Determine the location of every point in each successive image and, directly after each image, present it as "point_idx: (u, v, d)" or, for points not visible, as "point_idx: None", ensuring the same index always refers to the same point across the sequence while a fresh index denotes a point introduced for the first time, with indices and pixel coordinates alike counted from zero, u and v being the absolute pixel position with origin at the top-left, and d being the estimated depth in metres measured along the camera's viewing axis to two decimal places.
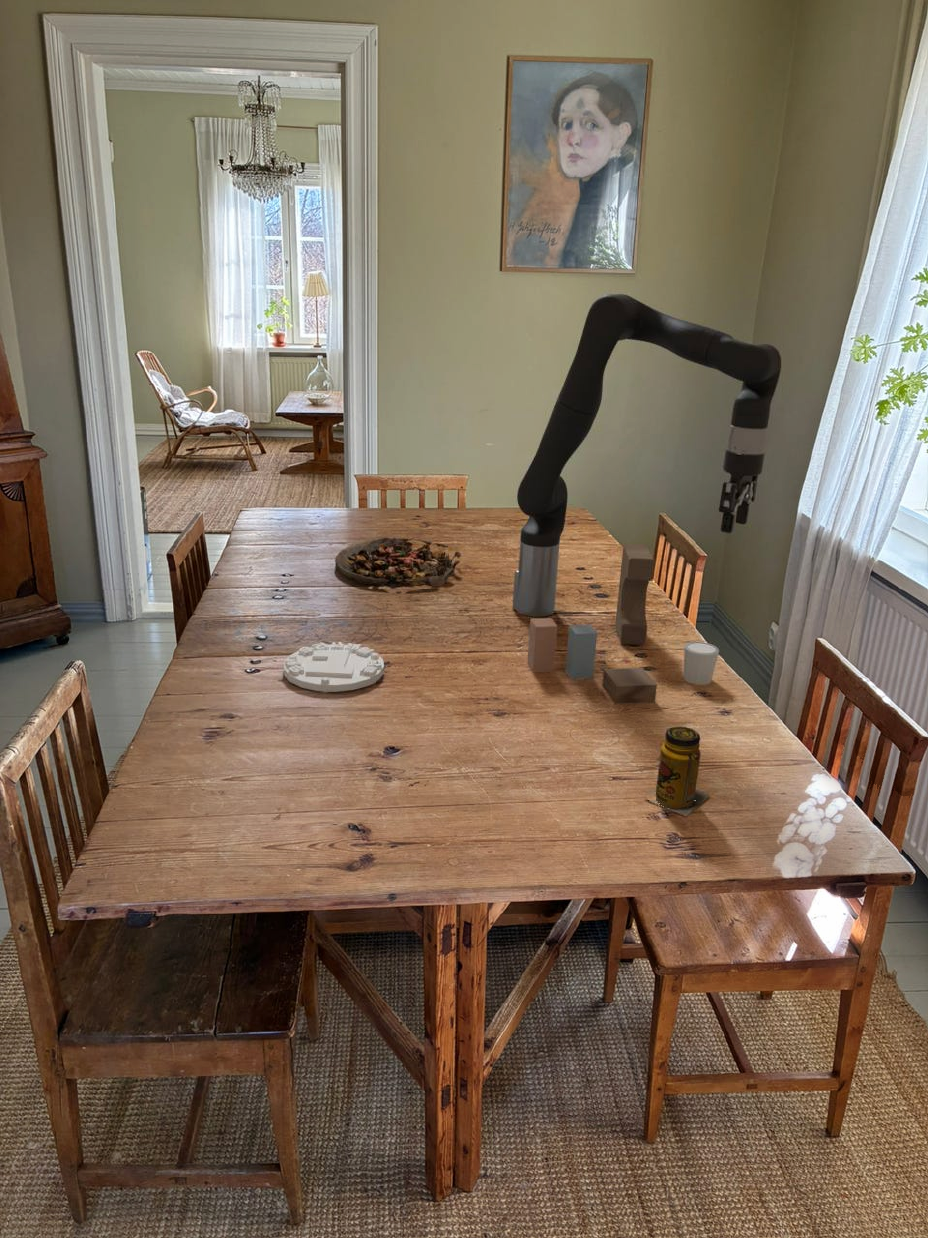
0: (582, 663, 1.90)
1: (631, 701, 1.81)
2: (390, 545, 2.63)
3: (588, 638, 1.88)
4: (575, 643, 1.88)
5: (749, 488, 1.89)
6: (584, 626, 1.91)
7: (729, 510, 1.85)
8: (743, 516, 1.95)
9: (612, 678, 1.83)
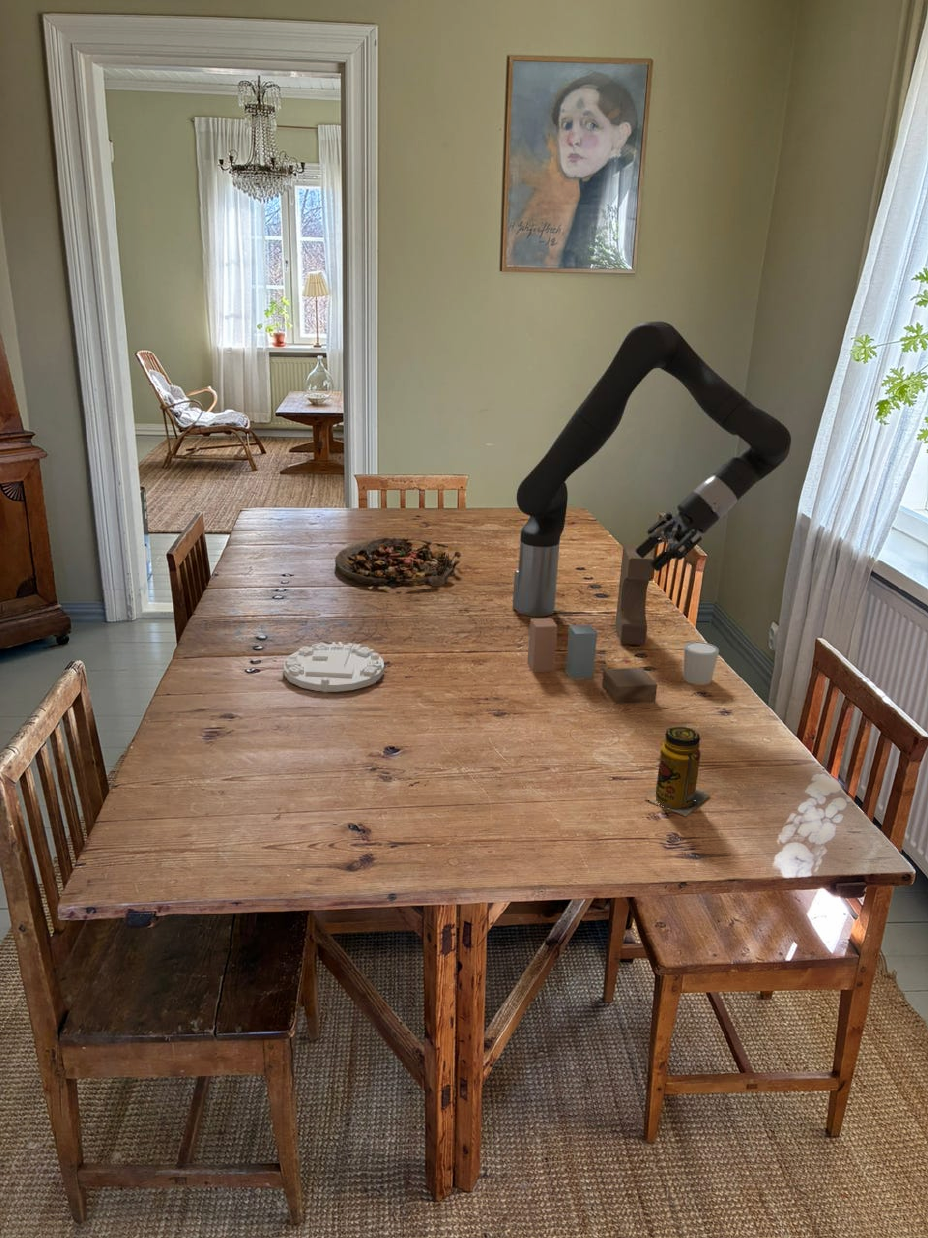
0: (582, 663, 1.90)
1: (632, 701, 1.81)
2: (390, 545, 2.63)
3: (588, 638, 1.88)
4: (576, 643, 1.88)
5: None
6: (584, 626, 1.91)
7: (682, 556, 1.79)
8: (646, 551, 1.90)
9: (613, 678, 1.83)
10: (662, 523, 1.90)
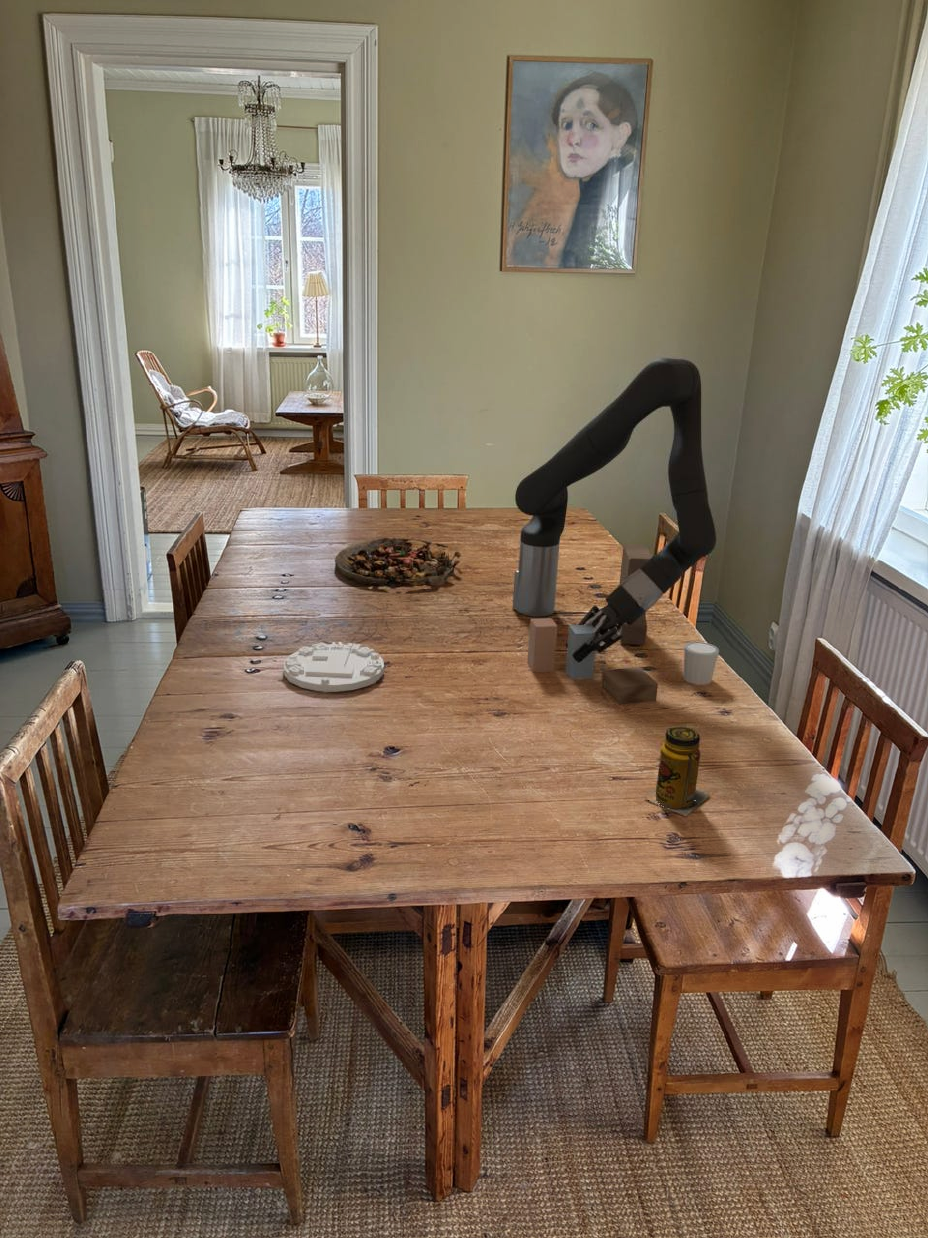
0: (582, 663, 1.90)
1: (633, 701, 1.81)
2: (390, 545, 2.63)
3: (588, 638, 1.88)
4: (575, 643, 1.88)
5: None
6: (584, 626, 1.91)
7: (600, 651, 1.86)
8: None
9: (613, 679, 1.83)
10: (591, 616, 1.94)
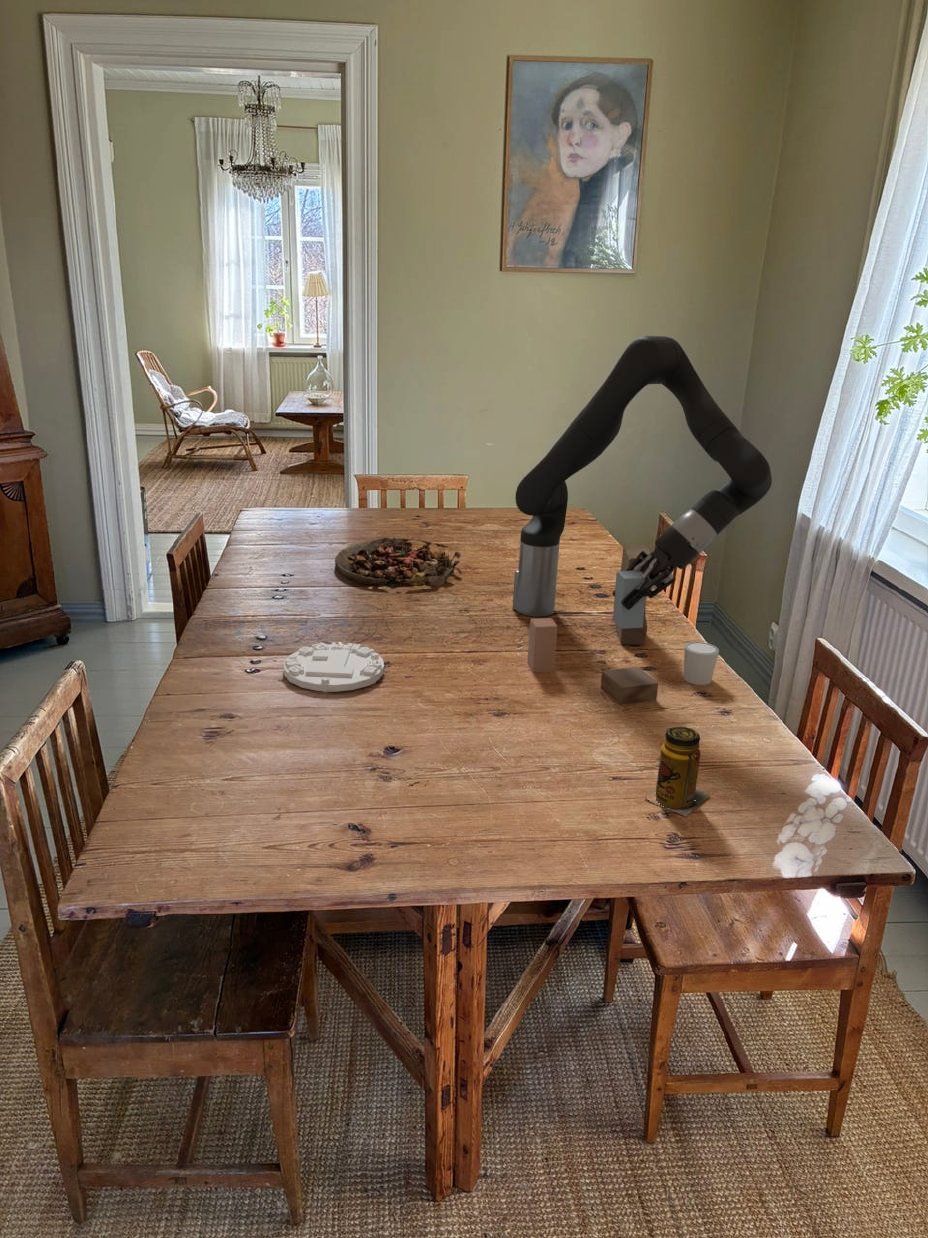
0: (631, 611, 1.78)
1: (634, 701, 1.81)
2: (390, 545, 2.63)
3: (638, 583, 1.76)
4: (624, 589, 1.76)
5: None
6: (633, 572, 1.79)
7: (652, 596, 1.74)
8: None
9: (614, 679, 1.82)
10: (638, 562, 1.83)
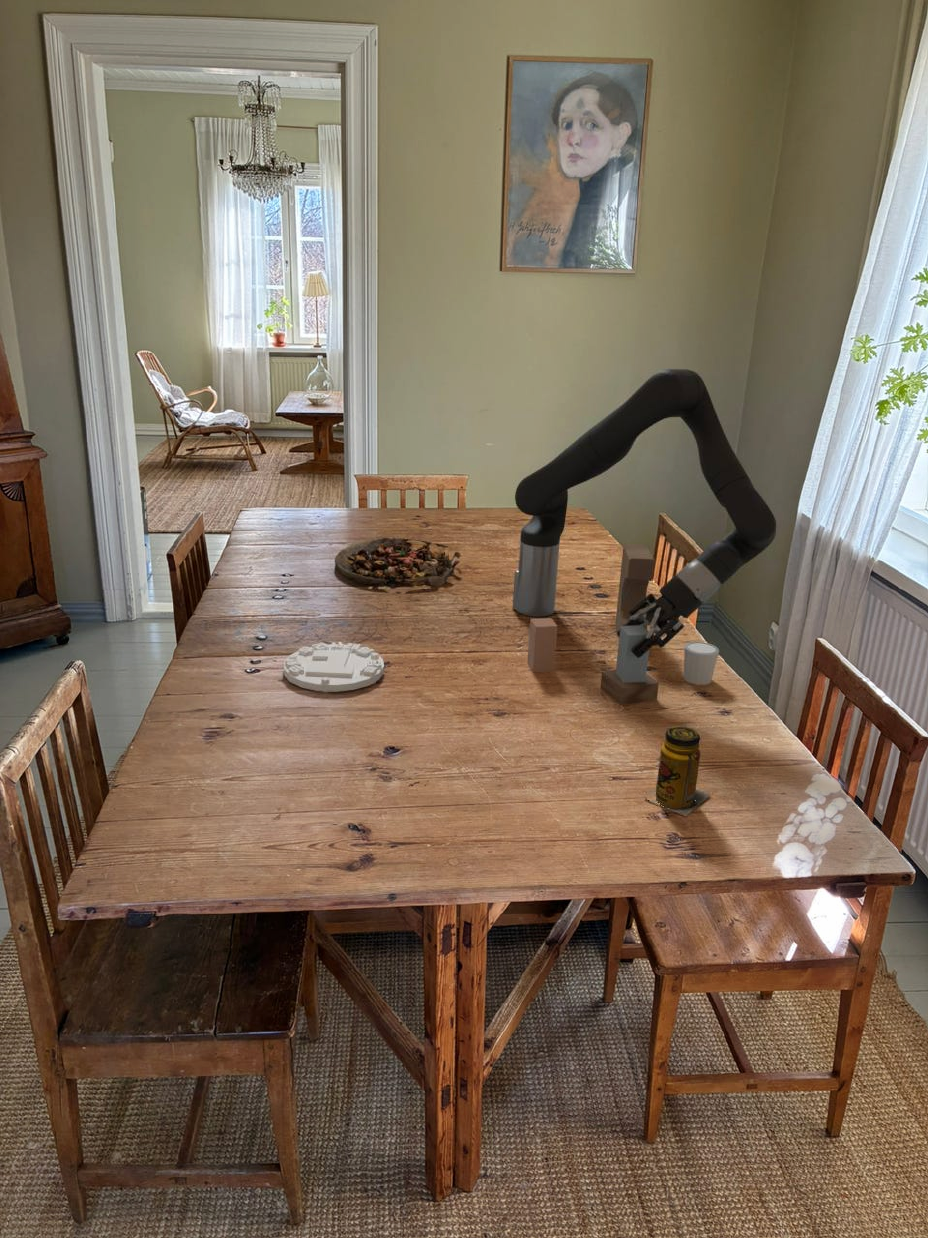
0: (634, 666, 1.80)
1: (635, 701, 1.81)
2: (390, 545, 2.63)
3: None
4: (628, 645, 1.78)
5: None
6: (637, 627, 1.81)
7: (663, 644, 1.74)
8: None
9: (614, 680, 1.82)
10: (644, 605, 1.85)
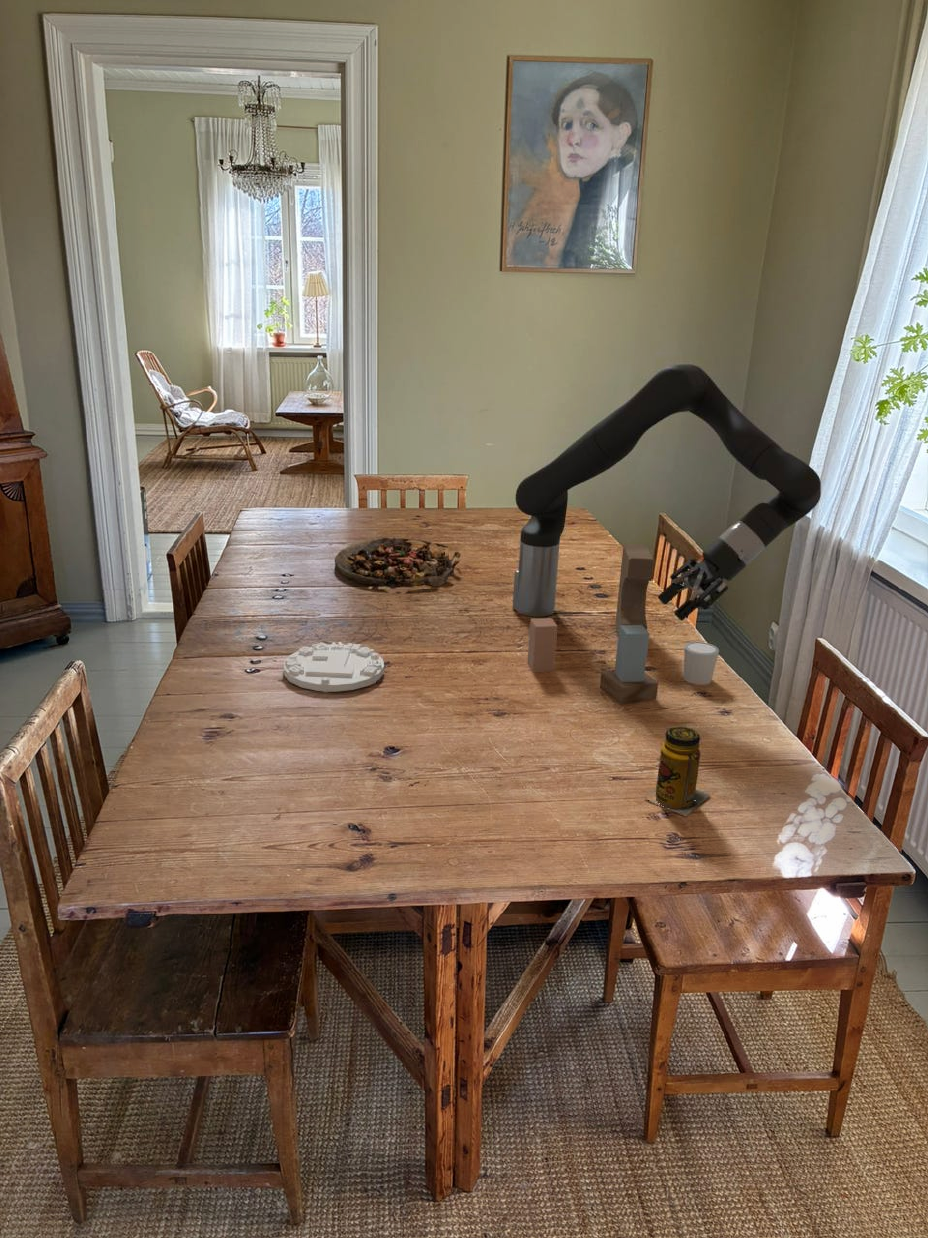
0: (632, 665, 1.80)
1: (635, 701, 1.81)
2: (390, 545, 2.63)
3: (640, 638, 1.79)
4: (626, 644, 1.79)
5: None
6: (636, 626, 1.82)
7: (707, 606, 1.73)
8: (669, 597, 1.83)
9: (614, 680, 1.82)
10: (686, 568, 1.84)
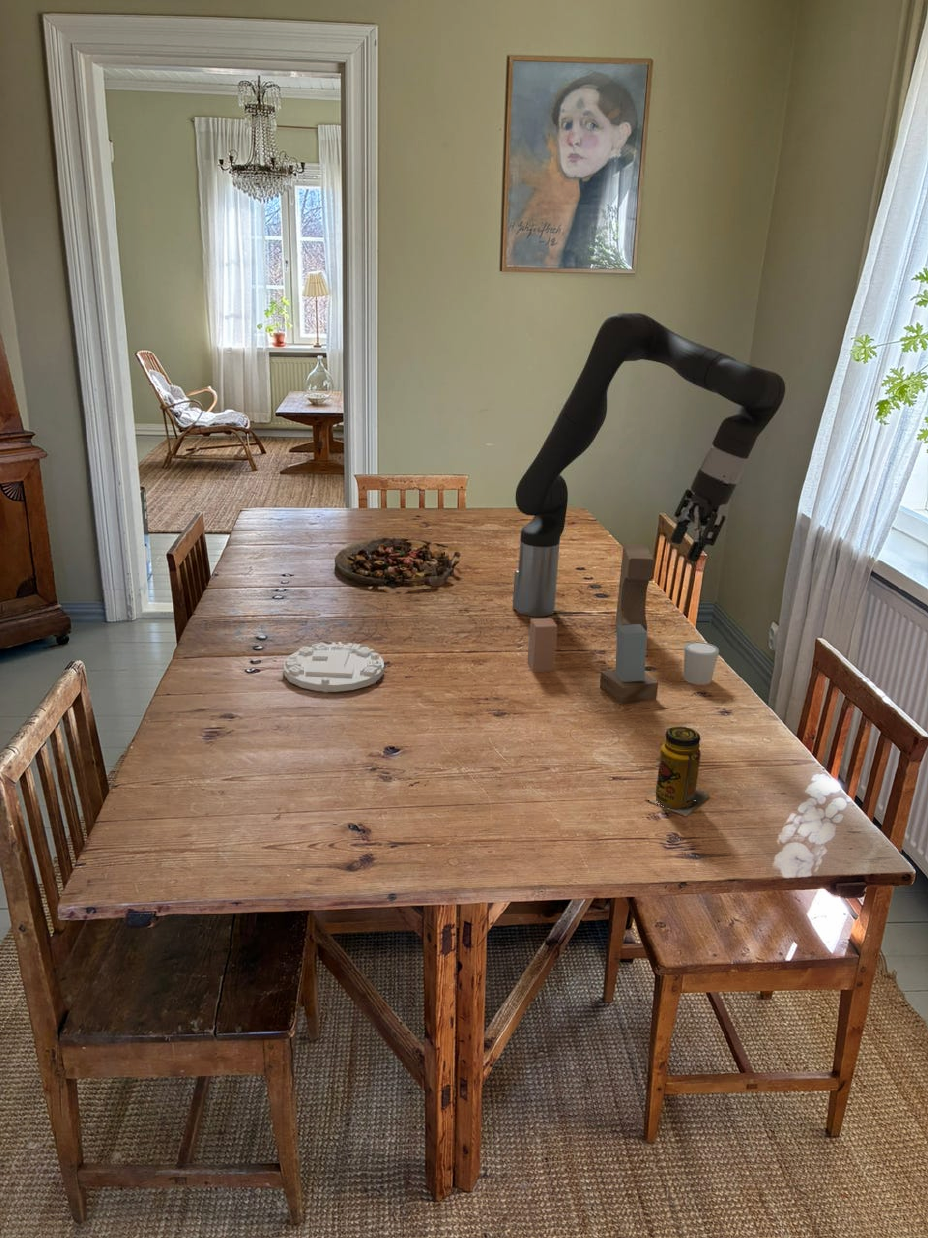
0: (632, 665, 1.80)
1: (635, 701, 1.81)
2: (390, 545, 2.63)
3: (638, 638, 1.78)
4: (624, 644, 1.79)
5: None
6: (634, 626, 1.81)
7: (713, 542, 1.74)
8: (680, 536, 1.84)
9: (614, 680, 1.82)
10: (685, 502, 1.83)
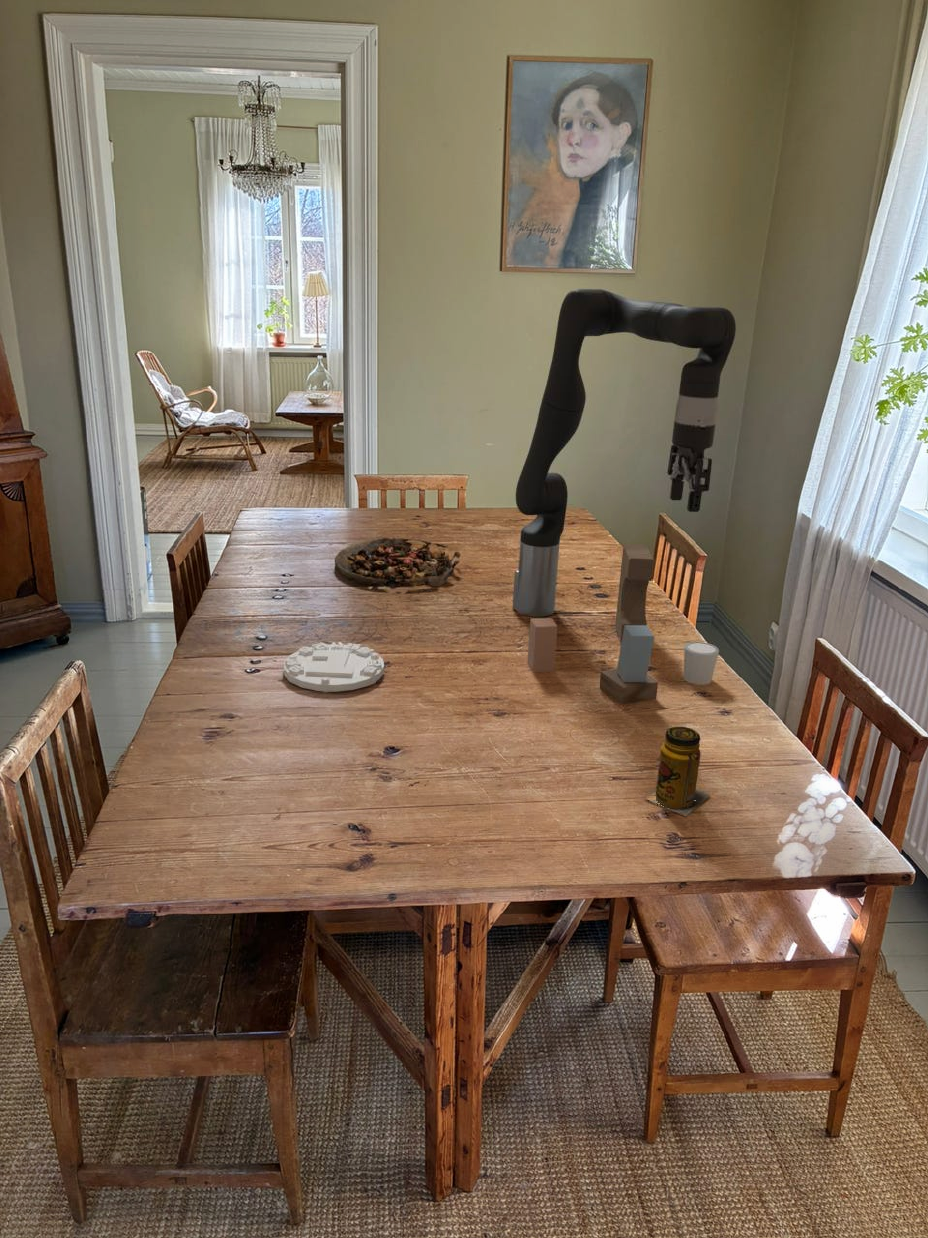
0: (635, 666, 1.80)
1: (635, 701, 1.81)
2: (390, 545, 2.63)
3: (644, 641, 1.78)
4: (631, 646, 1.78)
5: None
6: (640, 627, 1.80)
7: (707, 487, 1.72)
8: (679, 492, 1.83)
9: (614, 679, 1.82)
10: (674, 458, 1.82)
